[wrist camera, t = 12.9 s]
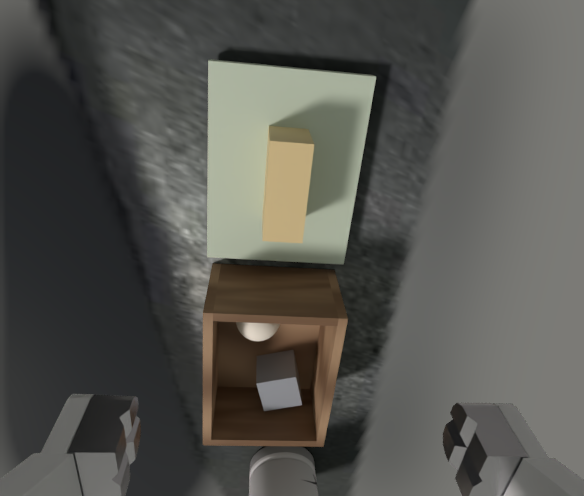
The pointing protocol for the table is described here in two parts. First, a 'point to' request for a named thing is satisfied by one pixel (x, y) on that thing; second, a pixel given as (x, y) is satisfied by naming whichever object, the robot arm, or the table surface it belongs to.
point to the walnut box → (289, 336)
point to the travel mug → (282, 472)
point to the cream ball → (257, 330)
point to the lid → (283, 160)
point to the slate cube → (278, 380)
